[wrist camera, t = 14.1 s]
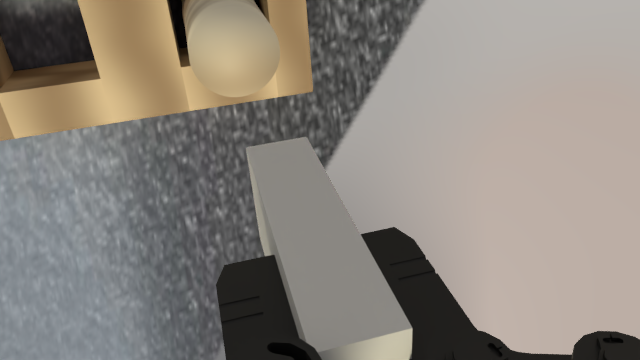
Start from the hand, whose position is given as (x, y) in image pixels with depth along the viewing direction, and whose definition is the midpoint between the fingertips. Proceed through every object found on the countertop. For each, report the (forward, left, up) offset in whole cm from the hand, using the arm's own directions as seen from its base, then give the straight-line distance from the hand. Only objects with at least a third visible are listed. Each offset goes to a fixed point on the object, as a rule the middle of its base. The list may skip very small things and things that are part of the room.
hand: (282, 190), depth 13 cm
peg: (0, 0, -24) cm, 24 cm away
